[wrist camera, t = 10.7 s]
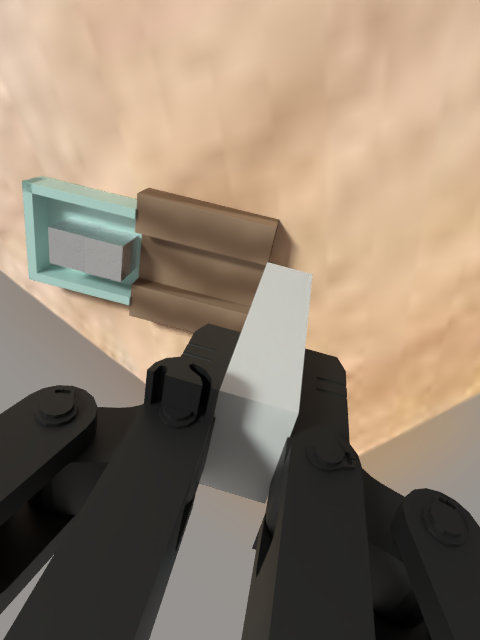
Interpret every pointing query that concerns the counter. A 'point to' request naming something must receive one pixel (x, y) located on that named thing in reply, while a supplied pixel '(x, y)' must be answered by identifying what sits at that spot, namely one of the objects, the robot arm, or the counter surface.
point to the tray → (83, 204)
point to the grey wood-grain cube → (110, 253)
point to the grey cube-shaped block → (69, 242)
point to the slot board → (198, 261)
